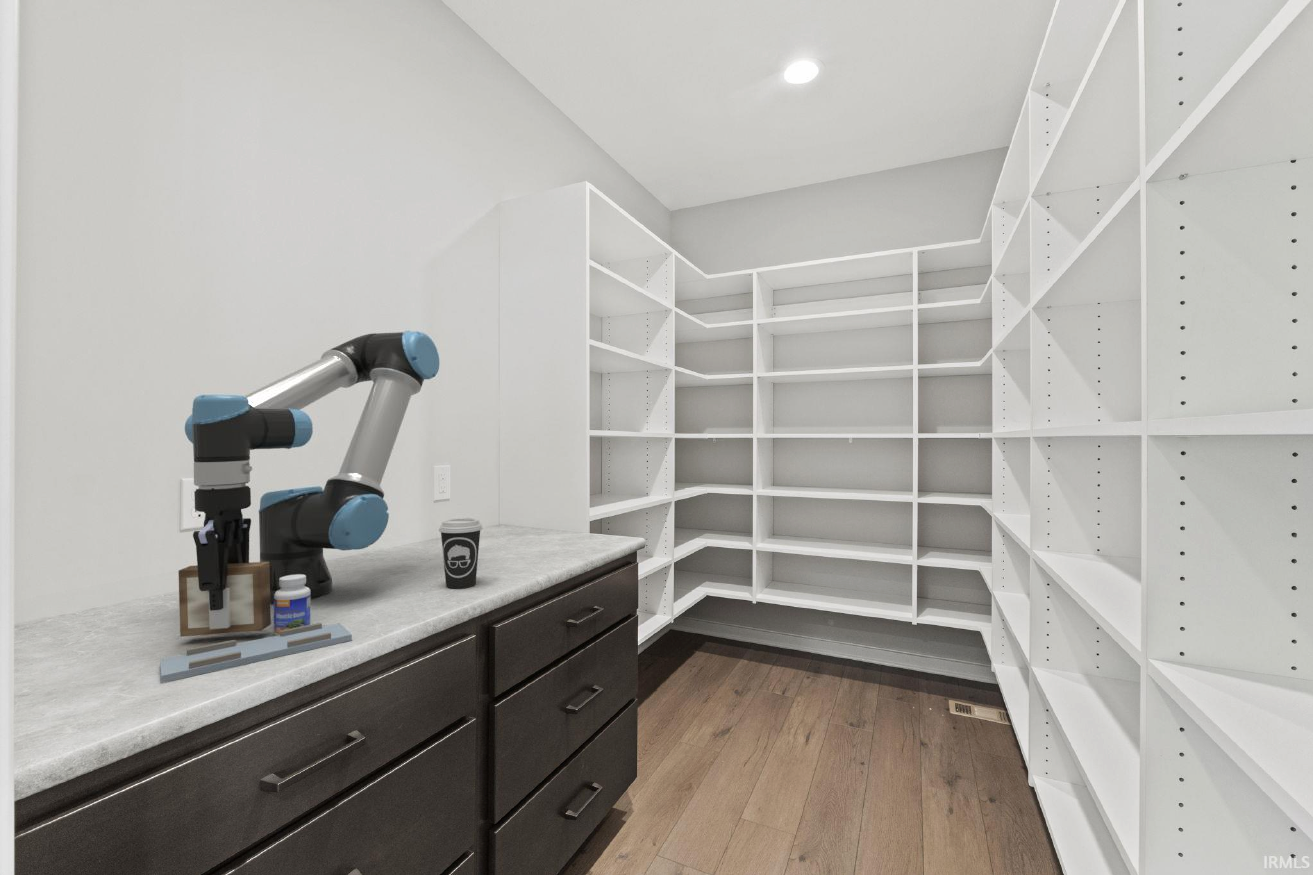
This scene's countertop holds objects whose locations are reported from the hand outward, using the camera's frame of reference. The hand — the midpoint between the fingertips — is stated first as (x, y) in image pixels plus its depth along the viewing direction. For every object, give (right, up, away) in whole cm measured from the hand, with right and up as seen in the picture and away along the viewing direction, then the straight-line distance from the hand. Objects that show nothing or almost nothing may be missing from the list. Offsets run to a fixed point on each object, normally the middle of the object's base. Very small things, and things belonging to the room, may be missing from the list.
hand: (226, 623), depth 95 cm
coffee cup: (+28, -3, +34) cm, 44 cm away
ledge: (+10, -3, -6) cm, 12 cm away
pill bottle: (+9, -3, +3) cm, 10 cm away
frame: (0, -1, 0) cm, 1 cm away
